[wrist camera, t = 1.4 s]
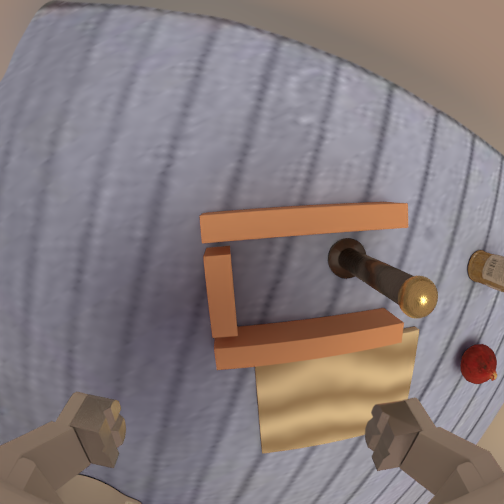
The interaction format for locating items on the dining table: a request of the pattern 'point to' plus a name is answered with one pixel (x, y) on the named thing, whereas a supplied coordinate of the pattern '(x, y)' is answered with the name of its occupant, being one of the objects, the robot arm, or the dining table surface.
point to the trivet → (330, 394)
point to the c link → (300, 331)
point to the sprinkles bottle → (487, 269)
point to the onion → (479, 364)
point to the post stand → (384, 278)
